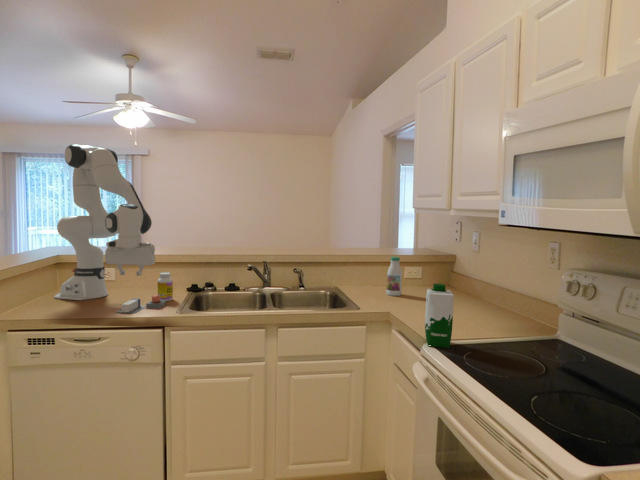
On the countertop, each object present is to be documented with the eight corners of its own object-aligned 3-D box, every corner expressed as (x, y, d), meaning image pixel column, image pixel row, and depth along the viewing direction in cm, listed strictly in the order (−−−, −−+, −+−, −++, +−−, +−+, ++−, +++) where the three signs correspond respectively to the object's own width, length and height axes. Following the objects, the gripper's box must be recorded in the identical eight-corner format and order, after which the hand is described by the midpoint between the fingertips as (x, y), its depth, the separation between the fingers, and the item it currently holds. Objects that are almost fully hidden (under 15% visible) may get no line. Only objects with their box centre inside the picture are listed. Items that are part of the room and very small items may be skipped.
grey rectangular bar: (128, 312, 162) (128, 304, 162) (121, 312, 162) (121, 304, 162) (140, 306, 172) (140, 298, 172) (133, 305, 172) (133, 298, 172)
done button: (150, 303, 171) (150, 296, 171) (154, 301, 175) (154, 294, 174) (158, 303, 171) (158, 296, 171) (161, 301, 175) (161, 295, 174)
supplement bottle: (167, 302, 181) (167, 274, 180) (154, 301, 182) (154, 274, 181) (175, 298, 188) (175, 272, 187) (163, 297, 189) (162, 271, 188)
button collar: (146, 308, 170) (146, 303, 170) (152, 304, 176) (152, 300, 176) (160, 308, 170) (159, 303, 170) (165, 304, 176) (165, 300, 176)
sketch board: (115, 312, 162) (115, 312, 162) (128, 306, 173) (128, 305, 173) (134, 313, 162) (134, 312, 162) (146, 306, 173) (146, 305, 173)
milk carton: (448, 340, 137) (451, 283, 135) (453, 349, 128) (456, 289, 126) (423, 338, 138) (425, 282, 136) (425, 347, 129) (428, 287, 128)
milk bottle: (390, 292, 212) (391, 255, 210) (403, 294, 207) (405, 257, 206) (383, 294, 206) (385, 257, 204) (397, 297, 201) (398, 258, 199)
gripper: (157, 242, 168) (158, 274, 169) (110, 241, 168) (111, 273, 169) (151, 244, 161) (151, 277, 163) (102, 242, 162) (103, 275, 163)
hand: (130, 275), depth 166 cm, fingers open, 6 cm apart
